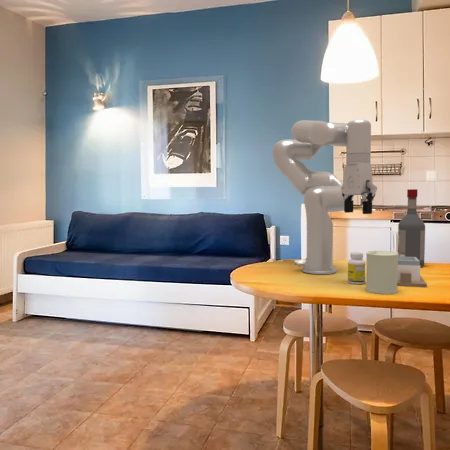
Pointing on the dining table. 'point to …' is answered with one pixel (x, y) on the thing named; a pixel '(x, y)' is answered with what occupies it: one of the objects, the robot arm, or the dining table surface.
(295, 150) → the robot arm
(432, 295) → the dining table surface
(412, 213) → the liquor
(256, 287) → the dining table surface
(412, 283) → the display riser
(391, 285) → the can
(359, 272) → the supplement bottle
